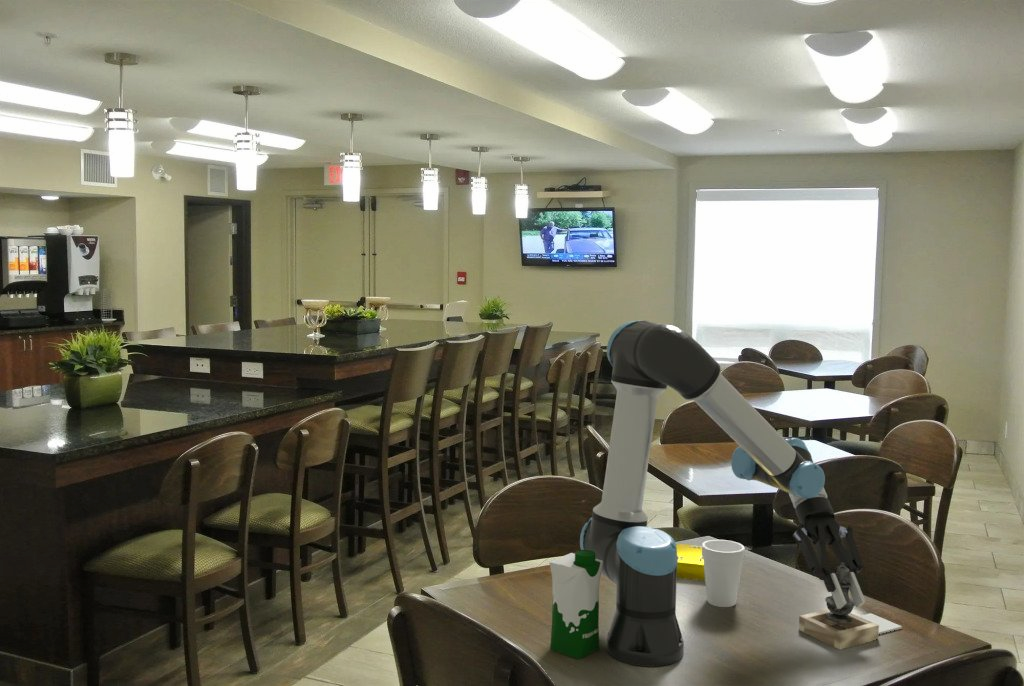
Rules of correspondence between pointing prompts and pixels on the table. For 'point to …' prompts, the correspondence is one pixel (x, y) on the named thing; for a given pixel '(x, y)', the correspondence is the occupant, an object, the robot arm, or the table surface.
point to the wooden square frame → (852, 636)
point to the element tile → (690, 562)
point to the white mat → (881, 623)
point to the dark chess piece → (843, 580)
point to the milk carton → (575, 603)
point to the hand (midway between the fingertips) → (851, 605)
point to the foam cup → (722, 571)
